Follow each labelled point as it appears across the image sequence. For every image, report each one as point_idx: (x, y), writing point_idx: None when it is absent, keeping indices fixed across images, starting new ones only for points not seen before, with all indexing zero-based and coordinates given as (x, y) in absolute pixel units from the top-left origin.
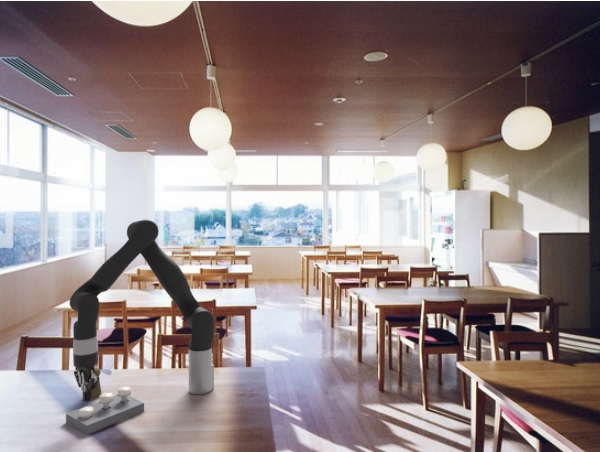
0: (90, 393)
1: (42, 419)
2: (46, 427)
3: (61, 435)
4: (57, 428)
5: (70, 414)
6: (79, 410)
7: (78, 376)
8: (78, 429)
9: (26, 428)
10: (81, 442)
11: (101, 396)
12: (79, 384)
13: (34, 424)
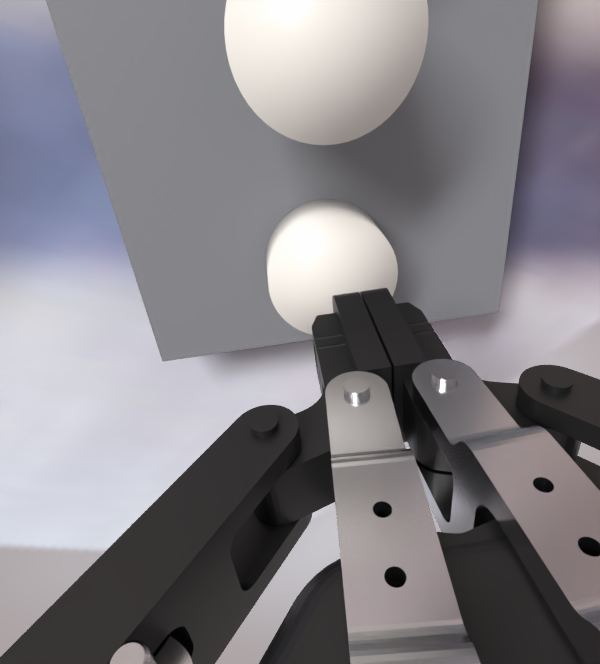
0: (443, 354)
1: (18, 414)
2: (167, 419)
3: None
4: (229, 380)
5: (203, 341)
6: (300, 328)
7: (195, 659)
8: None
9: (105, 487)
10: (525, 331)
11: (311, 109)
12: (294, 533)
13: (73, 454)
